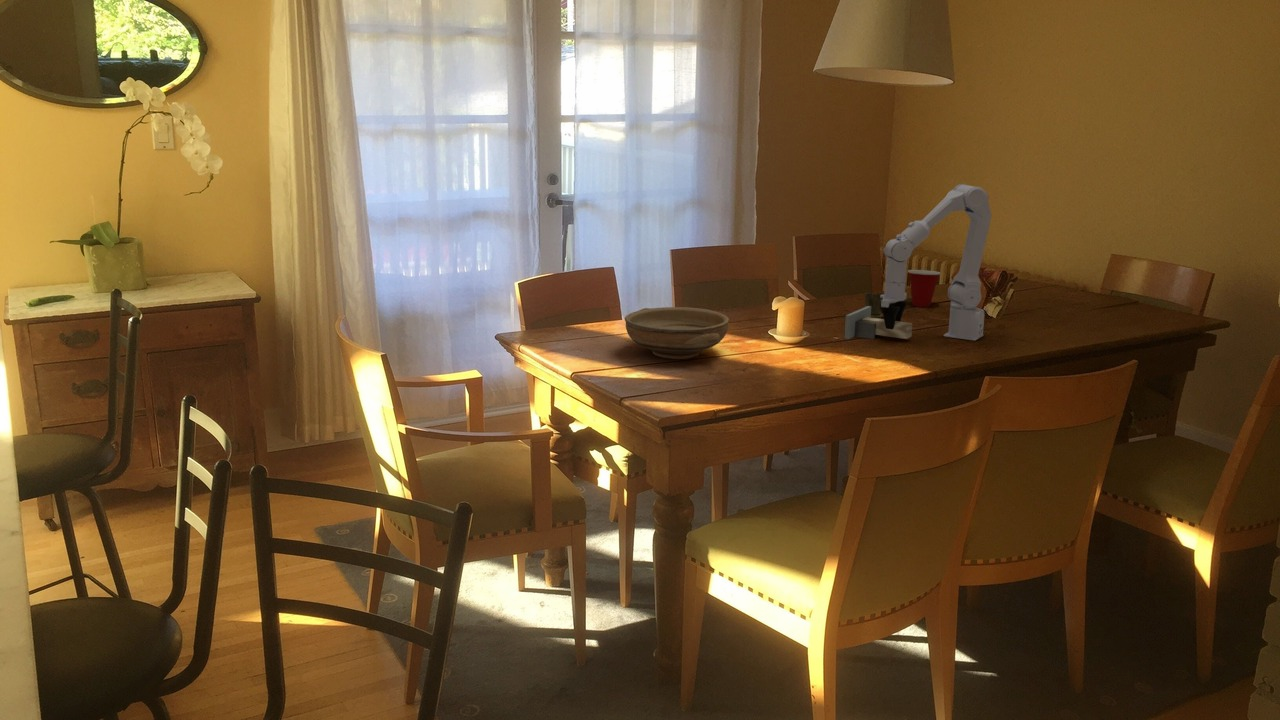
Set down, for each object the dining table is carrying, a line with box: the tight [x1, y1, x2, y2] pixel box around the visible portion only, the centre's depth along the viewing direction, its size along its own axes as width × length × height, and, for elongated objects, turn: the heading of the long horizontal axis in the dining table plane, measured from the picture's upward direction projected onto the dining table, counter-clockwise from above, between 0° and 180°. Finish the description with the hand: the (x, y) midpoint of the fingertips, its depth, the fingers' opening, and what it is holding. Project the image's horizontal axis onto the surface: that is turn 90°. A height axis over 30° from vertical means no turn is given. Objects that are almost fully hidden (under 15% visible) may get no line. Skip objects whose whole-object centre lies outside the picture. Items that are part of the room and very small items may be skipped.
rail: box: [862, 317, 913, 340], centre depth 296 cm, size 14×4×4 cm, turn 55°
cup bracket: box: [853, 317, 876, 340], centre depth 299 cm, size 6×7×4 cm
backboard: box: [844, 306, 871, 340], centre depth 301 cm, size 1×16×7 cm, turn 145°
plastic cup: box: [907, 269, 942, 308], centre depth 340 cm, size 11×11×12 cm
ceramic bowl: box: [624, 306, 730, 360], centre depth 279 cm, size 37×29×10 cm
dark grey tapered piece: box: [864, 291, 884, 319], centre depth 321 cm, size 8×7×8 cm
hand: (892, 327), depth 295 cm, fingers closed on rail, 4 cm apart
